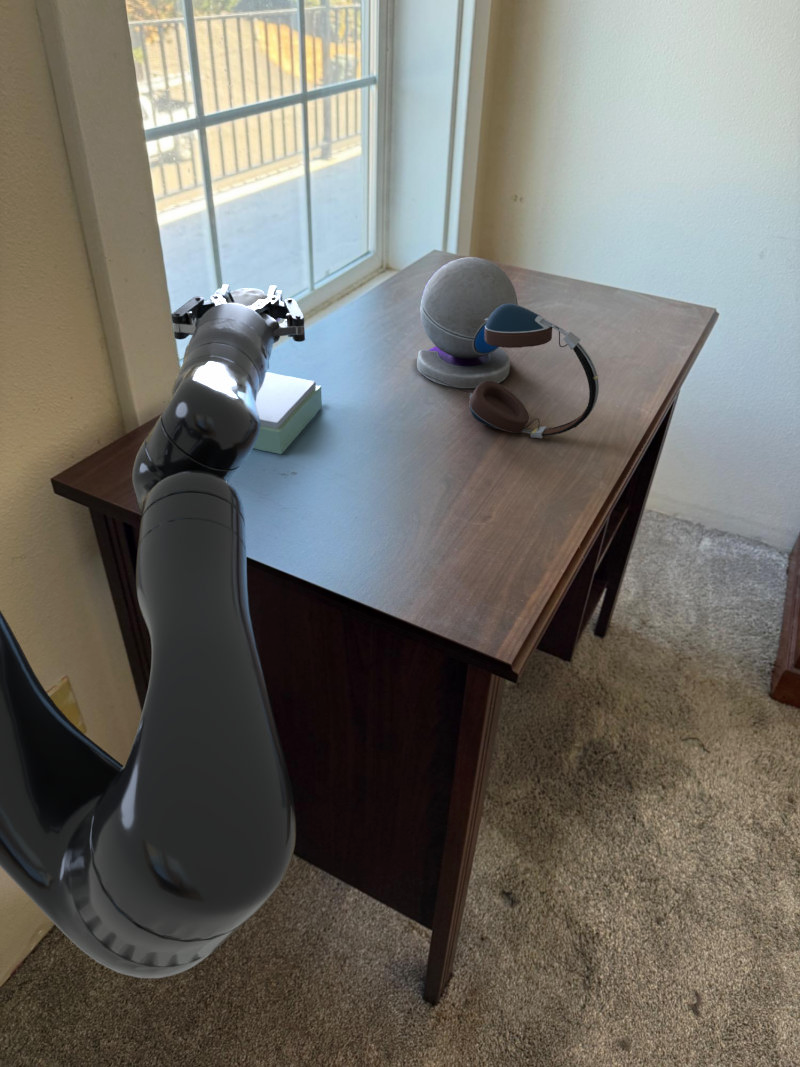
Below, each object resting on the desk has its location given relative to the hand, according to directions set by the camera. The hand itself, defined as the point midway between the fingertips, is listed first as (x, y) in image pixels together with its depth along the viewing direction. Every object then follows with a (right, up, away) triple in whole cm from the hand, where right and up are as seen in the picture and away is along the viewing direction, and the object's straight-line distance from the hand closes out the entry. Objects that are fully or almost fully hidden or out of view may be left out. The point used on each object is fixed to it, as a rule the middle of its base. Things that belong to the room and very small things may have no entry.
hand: (250, 294), depth 84 cm
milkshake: (0, -8, +3) cm, 9 cm away
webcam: (+26, -4, +21) cm, 33 cm away
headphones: (+29, -14, +8) cm, 33 cm away
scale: (-1, -13, +7) cm, 15 cm away
